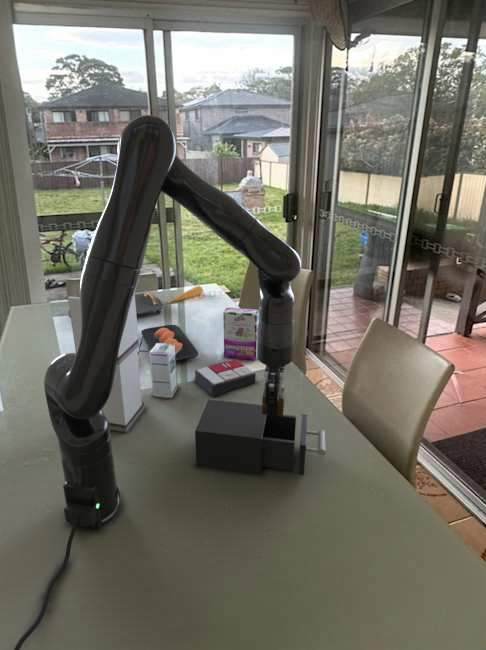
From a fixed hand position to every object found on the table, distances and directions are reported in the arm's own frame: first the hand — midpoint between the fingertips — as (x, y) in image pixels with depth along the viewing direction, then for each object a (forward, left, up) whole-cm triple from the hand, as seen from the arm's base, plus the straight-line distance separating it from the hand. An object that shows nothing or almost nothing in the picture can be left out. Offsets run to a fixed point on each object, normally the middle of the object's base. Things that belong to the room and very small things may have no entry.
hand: (273, 408), depth 97 cm
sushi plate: (+47, +48, -13) cm, 68 cm away
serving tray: (+78, +73, -13) cm, 107 cm away
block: (0, 0, 0) cm, 0 cm away
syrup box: (+22, +33, -13) cm, 42 cm away
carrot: (+101, +50, -13) cm, 113 cm away
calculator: (+31, +17, -13) cm, 38 cm away
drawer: (0, -3, -12) cm, 13 cm away
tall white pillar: (+8, +42, -13) cm, 45 cm away
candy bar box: (+49, +15, -13) cm, 53 cm away
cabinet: (0, +9, -13) cm, 16 cm away
